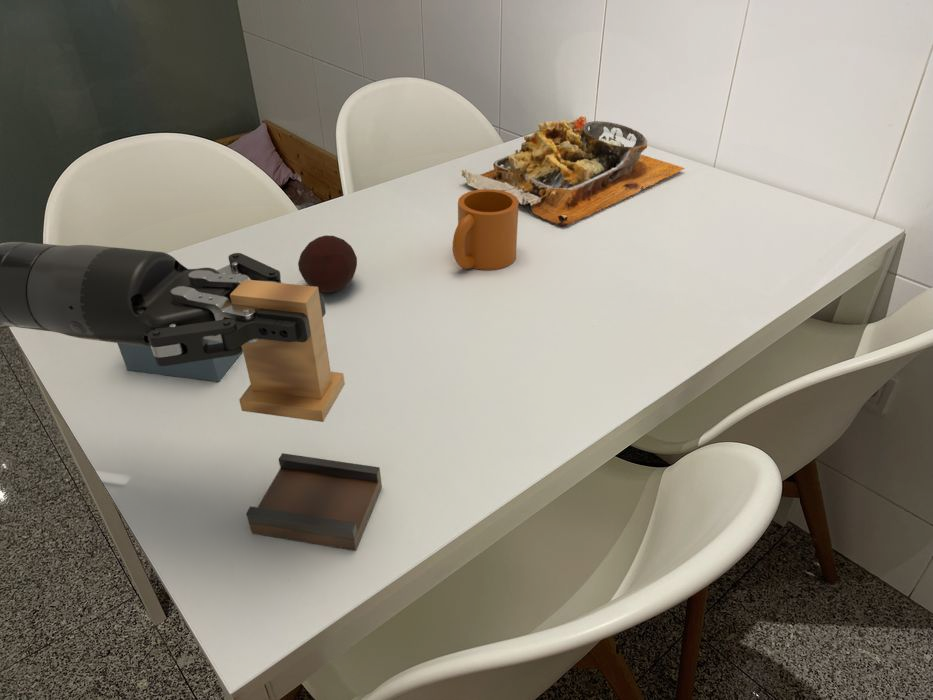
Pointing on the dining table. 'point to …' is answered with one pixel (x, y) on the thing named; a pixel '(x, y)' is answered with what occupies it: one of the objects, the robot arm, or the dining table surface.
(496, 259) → the mug
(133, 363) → the blue railed block
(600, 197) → the food tray
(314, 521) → the brown u-shaped block
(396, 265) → the dining table surface
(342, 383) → the wooden pedestal block
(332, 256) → the dark maroon ball
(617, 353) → the dining table surface
